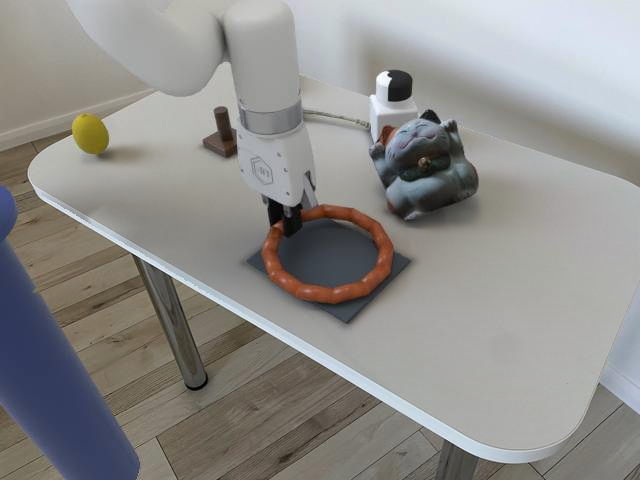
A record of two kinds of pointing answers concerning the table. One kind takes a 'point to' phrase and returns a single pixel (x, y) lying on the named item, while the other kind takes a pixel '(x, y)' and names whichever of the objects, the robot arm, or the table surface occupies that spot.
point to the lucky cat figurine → (423, 166)
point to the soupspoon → (362, 123)
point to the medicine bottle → (391, 101)
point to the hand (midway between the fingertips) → (286, 227)
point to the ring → (328, 293)
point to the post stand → (222, 135)
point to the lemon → (90, 134)
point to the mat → (331, 261)
